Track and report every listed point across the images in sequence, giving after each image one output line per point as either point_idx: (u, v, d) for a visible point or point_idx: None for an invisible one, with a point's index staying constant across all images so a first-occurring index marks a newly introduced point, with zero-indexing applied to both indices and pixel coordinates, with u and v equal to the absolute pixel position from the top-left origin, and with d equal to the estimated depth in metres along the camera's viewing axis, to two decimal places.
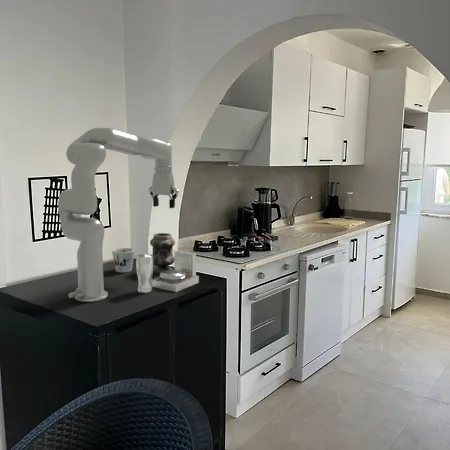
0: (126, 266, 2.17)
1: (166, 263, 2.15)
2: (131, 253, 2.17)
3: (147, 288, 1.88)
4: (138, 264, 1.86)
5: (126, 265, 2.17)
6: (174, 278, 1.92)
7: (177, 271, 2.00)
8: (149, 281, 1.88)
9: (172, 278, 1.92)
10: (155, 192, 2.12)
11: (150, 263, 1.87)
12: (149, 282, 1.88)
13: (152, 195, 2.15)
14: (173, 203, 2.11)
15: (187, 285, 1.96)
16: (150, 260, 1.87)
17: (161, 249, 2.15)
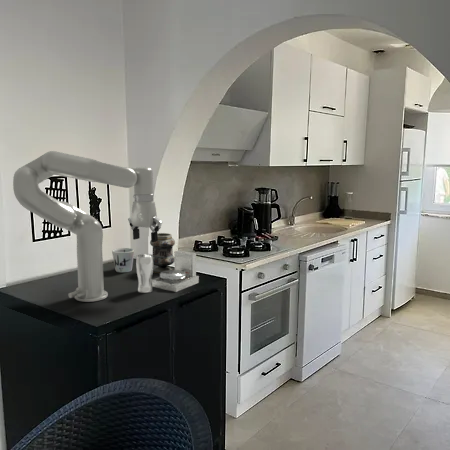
0: (126, 266, 2.17)
1: (166, 263, 2.15)
2: (131, 253, 2.17)
3: (147, 288, 1.88)
4: (138, 264, 1.86)
5: (126, 265, 2.17)
6: (174, 278, 1.92)
7: (177, 271, 2.00)
8: (149, 281, 1.88)
9: (172, 278, 1.92)
10: (135, 224, 1.85)
11: (150, 263, 1.87)
12: (149, 282, 1.88)
13: (132, 226, 1.88)
14: (155, 236, 1.84)
15: (187, 285, 1.96)
16: (150, 260, 1.87)
17: (161, 249, 2.15)
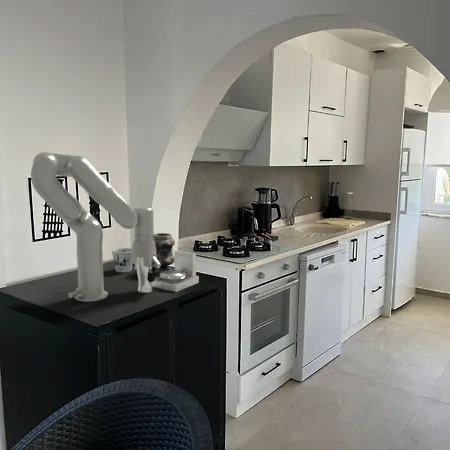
0: (126, 266, 2.17)
1: (166, 263, 2.15)
2: (131, 253, 2.17)
3: (147, 288, 1.88)
4: (138, 264, 1.86)
5: (126, 265, 2.17)
6: (174, 278, 1.92)
7: (177, 271, 2.00)
8: None
9: (172, 278, 1.92)
10: (135, 262, 1.88)
11: None
12: (149, 282, 1.88)
13: (134, 267, 1.90)
14: (153, 277, 1.87)
15: (187, 285, 1.96)
16: None
17: (161, 249, 2.15)
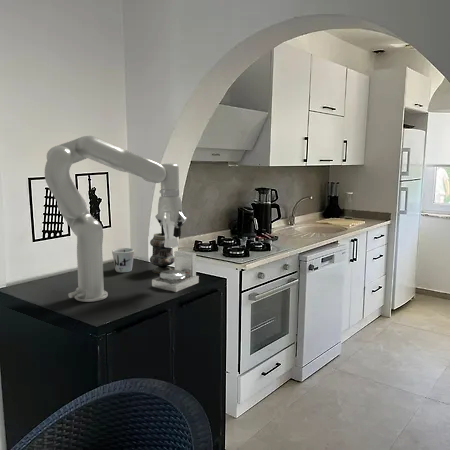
0: (126, 266, 2.17)
1: (166, 263, 2.15)
2: (131, 253, 2.17)
3: (173, 243, 1.92)
4: (164, 219, 1.90)
5: (126, 265, 2.17)
6: (174, 278, 1.92)
7: (177, 271, 2.00)
8: None
9: (172, 278, 1.92)
10: (161, 218, 1.92)
11: None
12: (175, 237, 1.92)
13: (160, 223, 1.94)
14: (179, 232, 1.91)
15: (187, 285, 1.96)
16: None
17: (161, 249, 2.15)
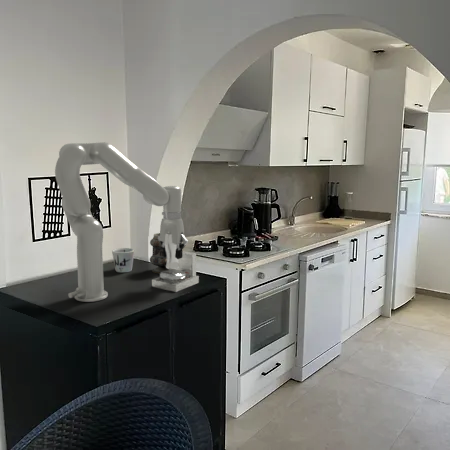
0: (126, 266, 2.17)
1: None
2: (131, 253, 2.17)
3: (175, 264, 1.94)
4: (167, 241, 1.92)
5: (126, 265, 2.17)
6: (174, 278, 1.92)
7: (177, 271, 2.00)
8: None
9: (172, 278, 1.92)
10: (163, 240, 1.94)
11: None
12: (177, 259, 1.95)
13: (162, 244, 1.96)
14: (180, 253, 1.93)
15: (187, 285, 1.96)
16: None
17: (161, 249, 2.15)
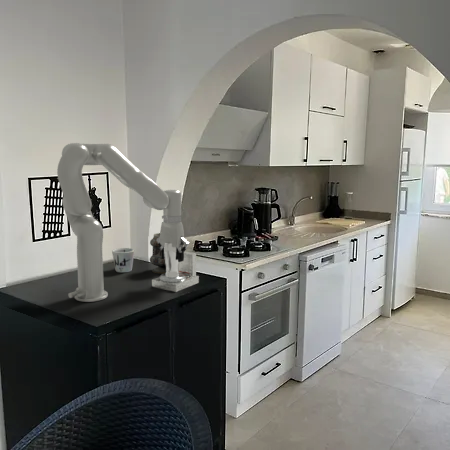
0: (126, 266, 2.17)
1: None
2: (131, 253, 2.17)
3: (174, 273, 1.95)
4: (166, 250, 1.93)
5: (126, 265, 2.17)
6: (174, 281, 1.92)
7: None
8: (176, 266, 1.95)
9: (172, 281, 1.92)
10: (163, 243, 1.94)
11: None
12: (176, 267, 1.95)
13: (160, 247, 1.97)
14: (182, 256, 1.93)
15: (187, 285, 1.96)
16: None
17: None
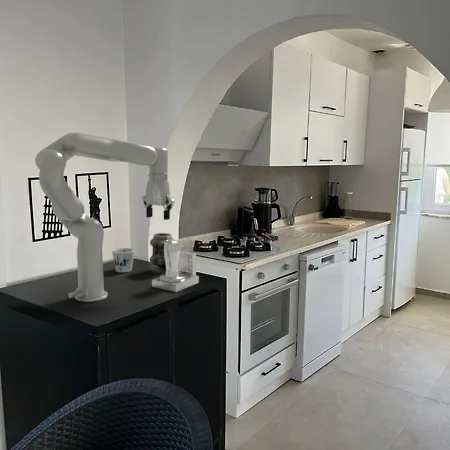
0: (126, 266, 2.17)
1: None
2: (131, 253, 2.17)
3: (174, 273, 1.95)
4: (166, 250, 1.93)
5: (126, 265, 2.17)
6: (174, 281, 1.92)
7: None
8: (176, 266, 1.95)
9: (172, 281, 1.92)
10: (148, 202, 1.92)
11: (178, 249, 1.93)
12: (176, 267, 1.95)
13: (145, 205, 1.96)
14: (168, 214, 1.91)
15: (187, 285, 1.96)
16: (178, 246, 1.93)
17: (161, 249, 2.15)
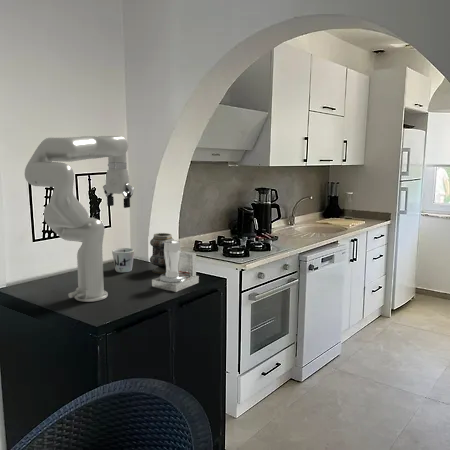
0: (126, 266, 2.17)
1: None
2: (131, 253, 2.17)
3: (174, 273, 1.95)
4: (166, 250, 1.93)
5: (126, 265, 2.17)
6: (174, 281, 1.92)
7: None
8: (176, 266, 1.95)
9: (172, 281, 1.92)
10: (109, 190, 1.96)
11: (178, 249, 1.93)
12: (176, 267, 1.95)
13: (106, 194, 1.99)
14: (128, 202, 1.94)
15: (187, 285, 1.96)
16: (178, 246, 1.93)
17: (161, 249, 2.15)
